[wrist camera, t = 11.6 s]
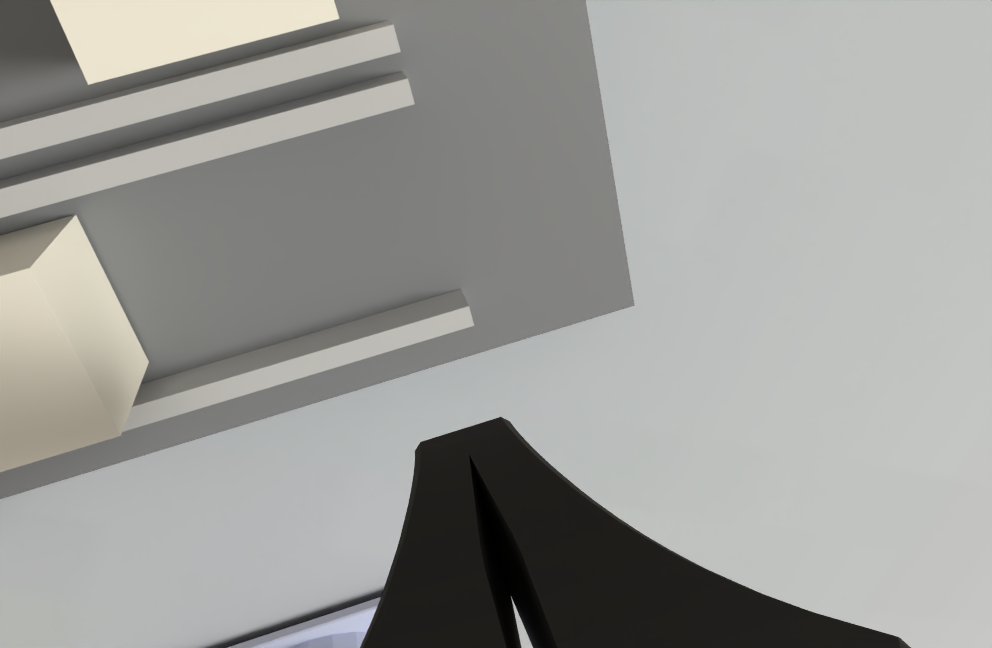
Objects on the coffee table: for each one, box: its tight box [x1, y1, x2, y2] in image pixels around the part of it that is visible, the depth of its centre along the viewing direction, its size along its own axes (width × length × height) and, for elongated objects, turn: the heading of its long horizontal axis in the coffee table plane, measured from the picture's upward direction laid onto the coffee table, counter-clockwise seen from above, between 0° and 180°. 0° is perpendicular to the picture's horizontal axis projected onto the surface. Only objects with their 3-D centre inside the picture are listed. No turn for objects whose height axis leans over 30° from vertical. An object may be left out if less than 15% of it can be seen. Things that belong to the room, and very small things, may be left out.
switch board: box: [0, 0, 634, 499], centre depth 16 cm, size 14×20×3 cm
